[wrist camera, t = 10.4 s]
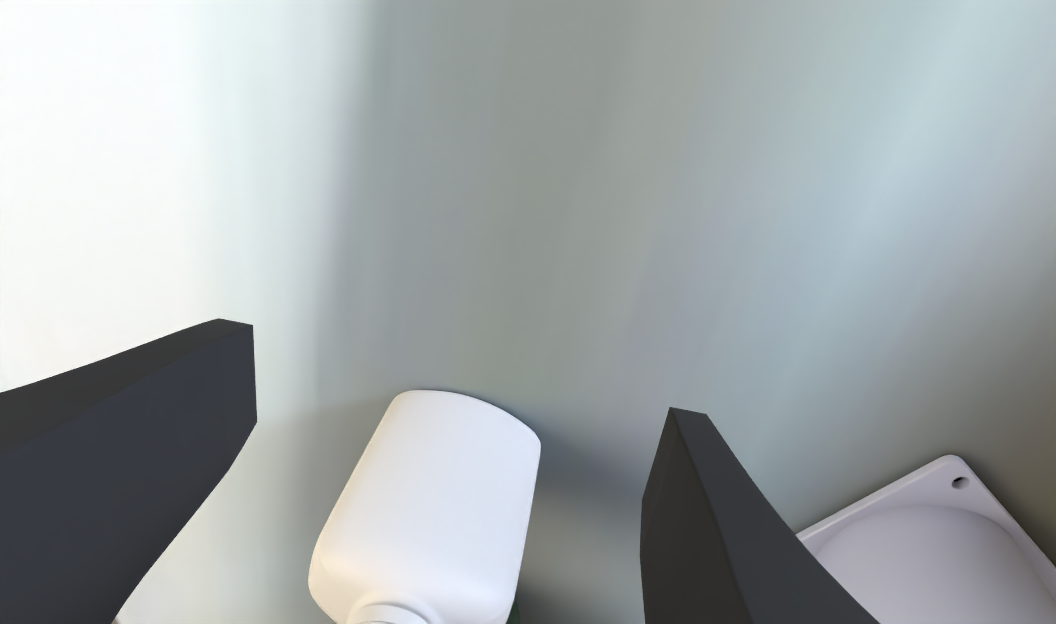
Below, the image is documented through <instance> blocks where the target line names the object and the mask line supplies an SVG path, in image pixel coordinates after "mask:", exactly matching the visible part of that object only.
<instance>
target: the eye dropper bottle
mask: <svg viewBox="0 0 1056 624" xmlns="http://www.w3.org/2000/svg"><path fill="white" fill-rule="evenodd" d="M540 453H541V444H540V441H539V439H538V437H537V436H536V434H535V433H534V432H533V431H532V430H531V429H530V428H529V427H528V426H526V425H525V424H524V423H522V422H521V421H519V420H518V419H516V418H515V417H513V416H512V415H510V414H509V413H507V412H505V411H503V410H501V409H500V408H498V407H495V406H493V405H491V404H489V403H486V402H484V401H481V400H479V399H476V398H472V397H469V396H465V395H461V394H457V393H452V392H445V391H435V390H412V391H406V392H404V393H401V394H399V395H397V396H396V397H395V398H394V400H393V401H392V402H391V404H390V406H389V407H388V409H387V411H386V413H385V415H384V416H383V418H382V420H381V422H380V424H379V425H378V427H377V429H376V431H375V433H374V435H373V436H372V438H371V440H370V442H369V444H368V446H367V447H366V449H365V451H364V453H363V455H362V457H361V458H360V460H359V462H358V464H357V466H356V468H355V470H354V471H353V473H352V475H351V477H350V479H349V481H348V482H347V484H346V486H345V488H344V490H343V492H342V494H341V495H340V497H339V499H338V501H337V503H336V505H335V507H334V508H333V510H332V512H331V514H330V516H329V518H328V520H327V522H326V524H325V526H324V528H323V530H322V532H321V534H320V536H319V538H318V541H317V543H316V546H315V549H314V552H313V556H312V560H311V565H310V570H309V577H308V585H309V589H310V593H311V595H312V597H313V598H314V600H315V601H316V602H317V604H318V605H319V606H320V608H321V609H322V610H323V611H324V612H325V613H326V614H327V615H328V616H329V617H330V618H331V619H333V620H334V621H335V622H336V623H337V624H506V621H507V619H508V616H509V613H510V610H511V607H512V604H513V601H514V597H515V592H516V587H517V582H518V577H519V572H520V567H521V561H522V556H523V550H524V545H525V539H526V534H527V528H528V523H529V517H530V511H531V506H532V500H533V494H534V489H535V483H536V477H537V472H538V466H539V460H540Z"/></svg>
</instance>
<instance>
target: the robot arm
mask: <svg viewBox="0 0 1056 624" xmlns="http://www.w3.org/2000/svg"><path fill="white" fill-rule="evenodd" d="M256 423H257V409H256V386H255V363H254V340H253V325H250V324H245V323H240V322H235V321H230V320H224V319H215V320H211V321H207V322H204V323H201V324H198V325H195V326H192V327H189V328H186V329H183V330H181V331H178V332H175V333H172V334H170V335H167V336H164V337H162V338H159V339H156V340H154V341H151V342H148V343H146V344H143V345H140V346H137V347H135V348H132V349H129V350H127V351H124V352H121V353H119V354H116V355H113V356H110V357H108V358H105V359H102V360H100V361H97V362H94V363H91V364H88V365H85V366H82V367H79V368H76V369H73V370H70V371H67V372H64V373H61V374H58V375H55V376H52V377H49V378H46V379H43V380H40V381H37V382H34V383H31V384H28V385H25V386H22V387H18V388H15V389H12V390H8V391H5V392H1V393H0V624H111V623H112V621H113V620H114V618H115V617H116V615H117V614H118V612H119V611H120V609H121V608H122V606H123V604H124V603H125V601H126V600H127V599H128V597H129V596H130V595H131V593H132V592H133V590H134V589H135V588H136V586H137V585H138V584H139V582H140V581H141V580H142V578H143V577H144V576H145V574H146V573H147V572H148V571H149V569H150V568H151V567H152V566H153V564H154V563H155V562H156V561H157V559H158V558H159V557H160V556H161V554H162V553H163V552H164V551H165V549H166V548H167V547H168V546H169V544H170V543H171V542H172V541H173V539H174V538H175V537H176V536H177V535H178V533H179V532H180V531H181V530H182V528H183V527H184V526H185V525H186V523H187V522H188V521H189V520H190V518H191V517H192V516H193V515H194V513H195V512H196V511H197V510H198V508H199V507H200V506H201V505H202V503H203V502H204V501H205V500H206V498H207V497H208V496H209V495H210V493H211V492H212V491H213V489H214V488H215V487H216V486H217V484H218V483H219V482H220V481H221V479H222V478H223V477H224V475H225V474H226V473H227V471H228V470H229V469H230V467H231V465H232V464H233V462H234V461H235V459H236V457H237V456H238V454H239V452H240V451H241V449H242V447H243V446H244V444H245V442H246V440H247V439H248V437H249V435H250V433H251V432H252V430H253V428H254V426H255V425H256ZM959 477H963V478H962V479H961V480H959V481H956V482H954V481H953V480H955V479H956V478H959ZM640 564H641V577H642V589H643V601H644V613H645V624H1056V567H1055V566H1054V565H1053V563H1052V562H1051V561H1050V560H1049V559H1048V558H1047V557H1046V555H1045V554H1044V553H1043V552H1042V551H1041V550H1040V548H1039V547H1038V546H1037V545H1036V544H1035V543H1034V542H1033V540H1032V539H1031V538H1030V537H1029V536H1028V535H1027V533H1026V532H1025V531H1024V530H1023V529H1022V528H1021V527H1020V525H1019V524H1018V523H1017V522H1016V521H1015V520H1014V518H1013V517H1012V516H1011V515H1010V514H1009V513H1008V512H1007V510H1006V509H1005V508H1004V507H1003V506H1002V505H1001V503H1000V502H999V501H998V500H997V499H996V498H995V497H994V495H993V494H992V493H991V492H990V491H989V490H988V488H987V487H986V486H985V485H984V484H983V483H982V482H981V480H980V479H979V478H978V477H977V476H976V475H975V473H974V472H973V471H972V470H971V469H970V468H969V467H968V465H967V464H966V463H965V462H964V461H963V460H962V459H961V458H960V457H958V456H955V455H945V456H943V457H940V458H938V459H936V460H934V461H932V462H930V463H928V464H927V465H925V466H923V467H921V468H919V469H917V470H915V471H913V472H912V473H910V474H908V475H906V476H904V477H902V478H900V479H898V480H897V481H895V482H893V483H891V484H889V485H887V486H885V487H883V488H882V489H880V490H878V491H876V492H874V493H872V494H870V495H868V496H867V497H865V498H863V499H861V500H859V501H857V502H855V503H853V504H852V505H850V506H848V507H846V508H844V509H842V510H840V511H838V512H837V513H835V514H833V515H831V516H829V517H827V518H825V519H823V520H821V521H820V522H818V523H816V524H814V525H812V526H810V527H808V528H806V529H805V530H803V531H801V532H799V533H797V534H794V533H793V532H792V530H791V529H790V528H789V527H788V526H787V524H786V523H785V522H784V521H783V520H782V518H781V517H780V516H779V515H778V513H777V512H776V511H775V510H774V508H773V507H772V506H771V505H770V503H769V502H768V501H767V499H766V498H765V497H764V495H763V494H762V493H761V491H760V490H759V489H758V487H757V486H756V485H755V483H754V482H753V481H752V479H751V478H750V476H749V475H748V474H747V472H746V471H745V469H744V468H743V467H742V465H741V464H740V462H739V461H738V459H737V458H736V457H735V455H734V454H733V452H732V451H731V449H730V448H729V446H728V445H727V444H726V442H725V441H724V439H723V438H722V436H721V435H720V433H719V432H718V430H717V429H716V427H715V426H714V424H713V423H712V421H711V420H710V419H709V417H708V416H707V414H703V413H698V412H693V411H688V410H683V409H678V408H672V407H670V408H669V411H668V415H667V418H666V421H665V425H664V428H663V431H662V435H661V438H660V442H659V445H658V448H657V452H656V455H655V458H654V462H653V465H652V468H651V472H650V475H649V479H648V482H647V485H646V489H645V492H644V495H643V499H642V512H641V534H640Z"/></svg>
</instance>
